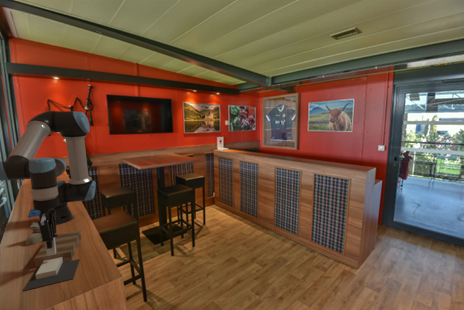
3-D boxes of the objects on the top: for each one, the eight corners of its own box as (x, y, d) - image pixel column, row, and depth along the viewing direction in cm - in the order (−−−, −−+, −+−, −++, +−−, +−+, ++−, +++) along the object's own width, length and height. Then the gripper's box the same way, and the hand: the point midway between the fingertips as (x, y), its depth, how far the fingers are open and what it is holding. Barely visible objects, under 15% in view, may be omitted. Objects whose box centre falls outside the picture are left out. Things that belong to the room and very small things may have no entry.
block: (44, 265, 86) (44, 260, 86) (62, 261, 89) (62, 256, 89) (36, 279, 78) (35, 274, 78) (56, 274, 81) (56, 270, 81)
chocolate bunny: (47, 240, 106) (45, 221, 104) (26, 246, 100) (23, 226, 98) (45, 236, 109) (43, 217, 108) (24, 242, 103) (21, 223, 102)
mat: (37, 268, 85) (37, 267, 85) (79, 259, 91) (79, 258, 91) (23, 291, 73) (23, 290, 73) (73, 279, 79) (72, 278, 79)
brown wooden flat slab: (51, 243, 103) (50, 235, 102) (81, 237, 108) (80, 230, 108) (35, 267, 85) (34, 258, 85) (71, 260, 90) (71, 251, 90)
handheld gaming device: (28, 216, 131) (31, 208, 142) (28, 217, 131) (31, 210, 143) (46, 212, 136) (47, 206, 148) (46, 214, 136) (47, 207, 148)
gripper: (39, 194, 87) (45, 248, 90) (26, 204, 75) (33, 266, 78) (62, 191, 90) (67, 244, 93) (52, 201, 79) (58, 260, 82)
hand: (51, 254), depth 86 cm, fingers closed
